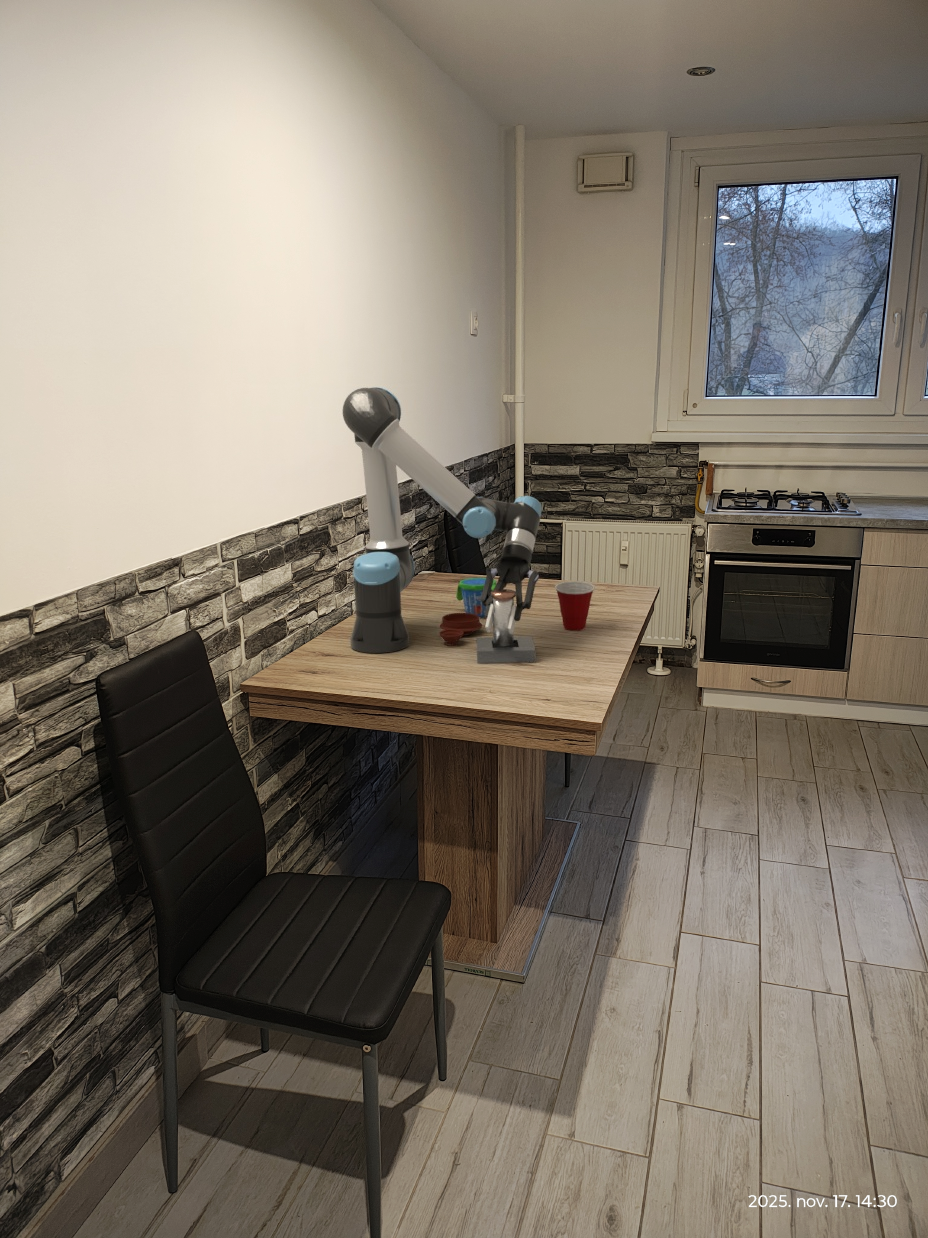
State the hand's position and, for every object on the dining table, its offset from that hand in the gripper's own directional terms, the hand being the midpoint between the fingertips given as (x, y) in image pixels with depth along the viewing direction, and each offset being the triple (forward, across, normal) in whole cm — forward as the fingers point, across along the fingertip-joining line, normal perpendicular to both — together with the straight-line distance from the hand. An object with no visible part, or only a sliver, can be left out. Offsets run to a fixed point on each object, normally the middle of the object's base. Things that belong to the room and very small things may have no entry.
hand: (499, 630), depth 215 cm
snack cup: (-22, +18, -34) cm, 44 cm away
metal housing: (+3, 0, -8) cm, 8 cm away
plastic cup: (-18, -12, -29) cm, 36 cm away
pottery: (-6, +17, -18) cm, 25 cm away
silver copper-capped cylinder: (0, 0, -6) cm, 6 cm away
